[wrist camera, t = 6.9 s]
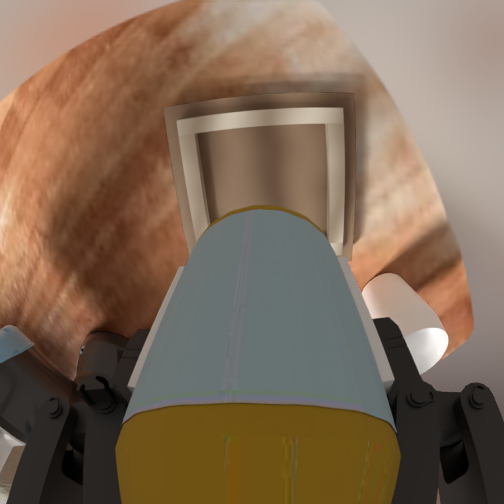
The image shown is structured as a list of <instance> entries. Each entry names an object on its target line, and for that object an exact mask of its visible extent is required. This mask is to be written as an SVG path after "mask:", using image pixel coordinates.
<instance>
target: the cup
mask: <svg viewBox="0 0 504 504" xmlns="http://www.w3.org/2000/svg"><path fill="white" fill-rule="evenodd" d="M362 296H363V298H364V300H365V303H366V305H367V308H368V310H369V313H370V315H371V317H372V319H376V318H384V317H390V318H391V319H392V320H393V321H394V322H395V323H396V324H397V325H398V326H399V328H400V330H401V333H402V335H403V338H404V339H405V341H406V344H407V347H408V348H409V350H410V353H411V355H412V357H413V359H414V362H415V364H416V366H417V369H418V371H419V374H420V375H421V374H422V373H424V372H426V371H427V370H428V369H430V368H431V367H432V366H433V365H435V364H436V363H437V362H438V361H439V359H440V358H441V357H442V356H443V354H444V352H445V350H446V348H447V345H448V336H447V333H446V332H445V330H444V328H443V326H442V324H441V322H440V320H439V318H438V316H437V314H436V313H435V312H434V311H433V310H432V309H431V308H430V306H429V305H428V304H427V303H426V302H425V301H424V300H423V299H422V298H421V297H420V296H419V295H418V294H417V293H416V292H415V291H414V290H413V289H412V288H411V287H410V286H409V285H408V284H407V283H406V282H405V281H404V280H403V279H402V278H401V277H400V276H399V275H397V274H394V273H385V274H381V275H379V276H377V277H375V278H373V279H372V280H371V281H370V282H368V284H367V285H366V286H365V287H364V289H363V291H362Z"/></svg>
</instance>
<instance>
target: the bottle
mask: <svg viewBox="0 0 504 504" xmlns="http://www.w3.org/2000/svg"><path fill="white" fill-rule="evenodd" d="M395 431H396V427H395V424H394V420H393V416H392V413H391V409H390V406H389V402H388V399H387V395H386V392H385V389H384V385H383V382H382V379H381V376H380V373H379V370H378V367H377V363H376V360H375V357H374V354H373V351H372V348H371V345H370V343H369V340H368V337H367V334H366V331H365V328H364V325H363V323H362V320H361V317H360V315H359V312H358V309H357V306H356V304H355V301H354V299H353V296H352V293H351V291H350V288H349V286H348V283H347V281H346V278H345V276H344V273H343V271H342V268H341V266H340V263H339V261H338V259H337V256H336V254H335V252H334V250H333V248H332V246H331V244H330V243H329V241H328V239H327V237H326V236H325V234H324V232H323V231H322V230H321V229H320V228H319V227H318V226H317V225H316V224H314V223H313V222H312V221H311V220H310V219H308V218H307V217H306V216H304V215H302V214H300V213H297V212H295V211H292V210H290V209H287V208H284V207H280V206H270V205H252V206H248V207H244V208H240V209H236V210H233V211H230V212H228V213H226V214H225V215H223V216H222V217H220V218H218V219H217V220H215V221H214V222H212V223H211V224H210V225H209V226H208V227H207V229H206V230H205V231H204V232H203V234H202V235H201V236H200V238H199V239H198V241H197V243H196V244H195V246H194V248H193V250H192V252H191V254H190V256H189V258H188V261H187V263H186V265H185V267H184V269H183V272H182V274H181V276H180V278H179V281H178V283H177V285H176V287H175V290H174V292H173V294H172V297H171V299H170V301H169V304H168V306H167V308H166V311H165V313H164V315H163V318H162V320H161V322H160V325H159V327H158V330H157V332H156V335H155V337H154V340H153V342H152V344H151V347H150V349H149V352H148V355H147V357H146V360H145V362H144V365H143V367H142V370H141V373H140V375H139V378H138V380H137V383H136V386H135V389H134V391H133V394H132V397H131V399H130V402H129V405H128V408H127V411H126V413H125V416H124V419H123V422H122V425H121V432H120V435H119V438H118V441H117V444H116V447H115V452H116V463H117V473H118V481H119V489H120V496H121V502H122V504H391V501H392V498H393V494H394V490H395V486H396V481H397V476H398V470H399V465H400V459H401V454H400V450H399V445H398V441H397V437H396V433H397V431H396V433H395Z"/></svg>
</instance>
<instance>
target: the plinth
mask: <svg viewBox="0 0 504 504" xmlns="http://www.w3.org/2000/svg"><path fill="white" fill-rule="evenodd" d="M163 109H164V116H165V124H166V131H167V138H168V145H169V151H170V158H171V164H172V170H173V176H174V182H175V187H176V193H177V198H178V204H179V209H180V214H181V220H182V225H183V230H184V234H185V239H186V244H187V249H188V254H189V256H190V254H191V252H192V250H193V248H194V246H195V244H196V243H197V241H198V239H199V238H200V236H201V235H202V234H203V232H204V231H205V230H206V229H207V227H208V226H209V225H210V224H211V223H212V222H214V221H215V220H217V219H218V218H220V217H222V216H223V215H225V214H226V213H228V212H230V211H233V210H236V209H240V208H244V207H248V206H252V205H270V206H280V207H284V208H287V209H290V210H292V211H295V212H297V213H300V214H302V215H304V216H306V217H307V218H308V219H310V220H311V221H312V222H313V223H314V224H316V225H317V226H318V227H319V228H320V229H321V230H322V231H323V232H324V234H325V236H326V237H327V239H328V241H329V243H330V244H331V246H332V248H333V250H334V252H335V254H336V256H337V257H343V256H345V258H346V260H347V261H351V260H352V248H353V235H354V218H355V194H356V127H355V104H354V93H332V92H300V93H274V94H259V95H247V96H237V97H228V98H220V99H213V100H206V101H199V102H193V103H187V104H182V105H176V106H171V107H166V108H163Z"/></svg>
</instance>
